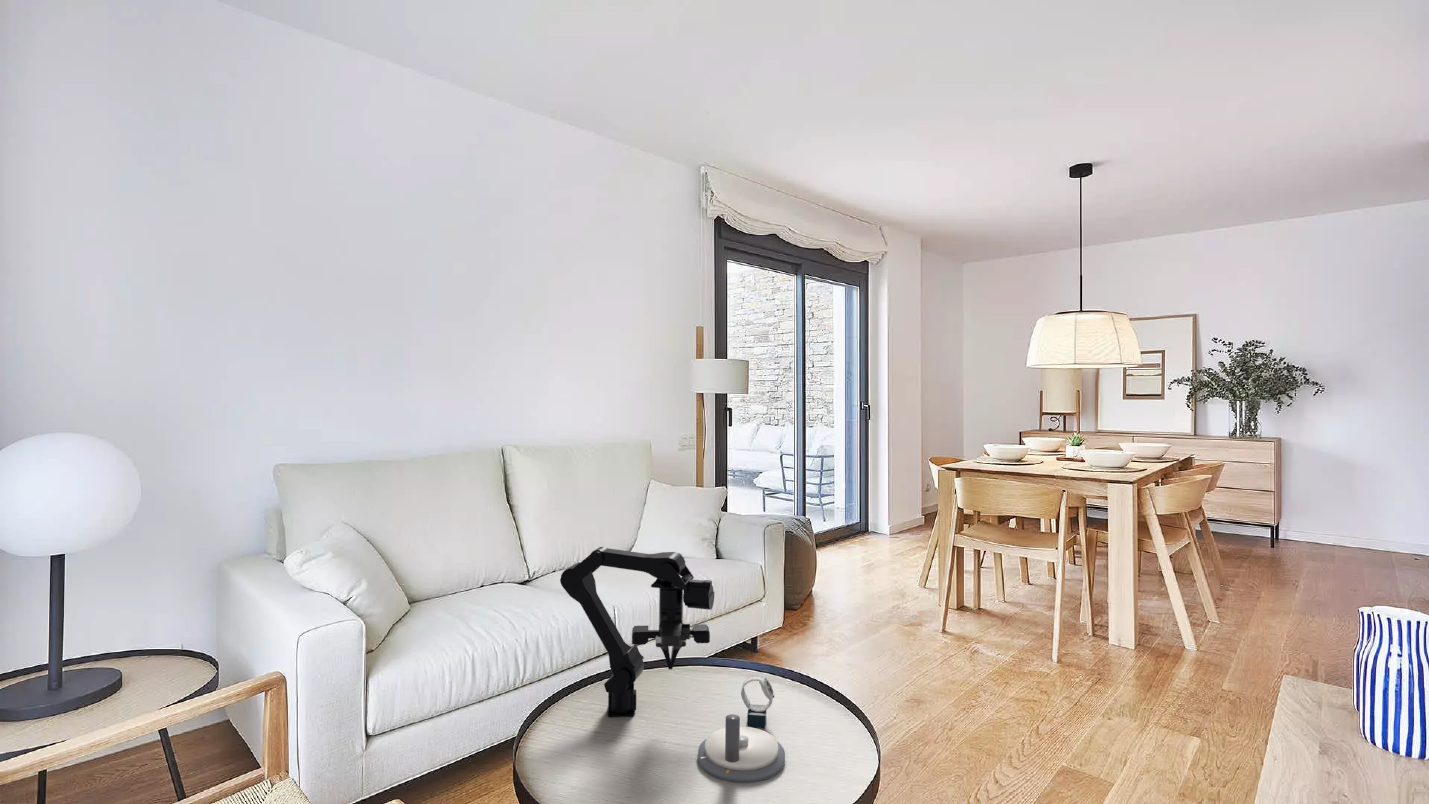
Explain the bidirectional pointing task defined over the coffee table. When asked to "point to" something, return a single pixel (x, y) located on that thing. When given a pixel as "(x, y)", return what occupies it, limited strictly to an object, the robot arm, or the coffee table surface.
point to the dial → (741, 746)
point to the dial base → (741, 775)
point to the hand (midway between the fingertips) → (670, 668)
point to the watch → (757, 712)
